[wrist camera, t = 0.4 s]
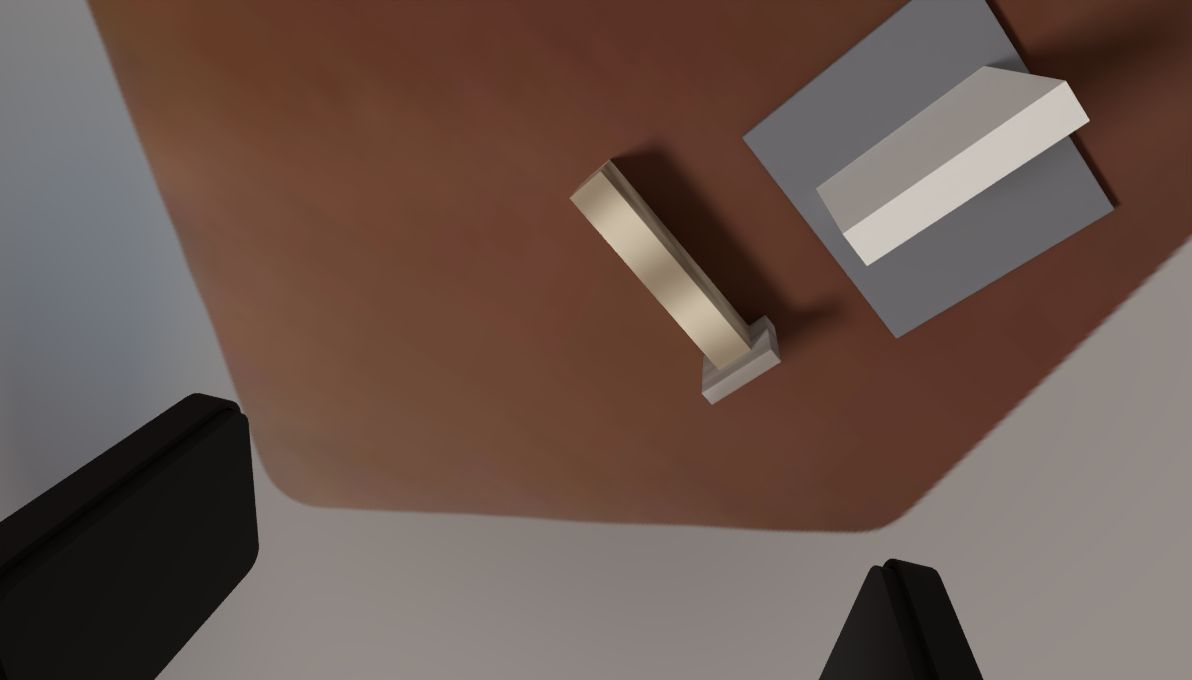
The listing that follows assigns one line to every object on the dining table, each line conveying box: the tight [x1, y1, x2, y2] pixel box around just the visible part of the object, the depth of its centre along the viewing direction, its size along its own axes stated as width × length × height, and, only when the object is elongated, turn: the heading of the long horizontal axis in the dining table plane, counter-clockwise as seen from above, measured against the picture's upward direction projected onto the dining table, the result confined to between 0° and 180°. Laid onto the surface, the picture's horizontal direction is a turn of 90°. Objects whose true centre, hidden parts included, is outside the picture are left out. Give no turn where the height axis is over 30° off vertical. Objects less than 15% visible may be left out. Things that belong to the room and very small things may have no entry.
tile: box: [816, 66, 1090, 266], centre depth 32 cm, size 2×10×9 cm, turn 132°
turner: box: [570, 159, 781, 404], centre depth 40 cm, size 15×5×5 cm, turn 42°
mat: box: [742, 0, 1114, 339], centre depth 37 cm, size 16×13×1 cm
